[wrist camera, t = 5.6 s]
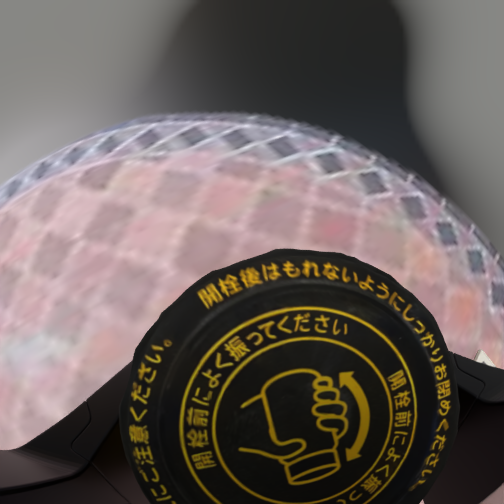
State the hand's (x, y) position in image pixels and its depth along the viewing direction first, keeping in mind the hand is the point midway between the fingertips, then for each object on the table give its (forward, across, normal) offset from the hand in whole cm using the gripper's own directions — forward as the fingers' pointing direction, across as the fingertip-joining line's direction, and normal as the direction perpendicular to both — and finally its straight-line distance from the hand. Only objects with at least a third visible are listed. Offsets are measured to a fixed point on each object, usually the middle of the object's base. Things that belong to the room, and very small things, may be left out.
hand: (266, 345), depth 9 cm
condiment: (+4, -1, +6) cm, 7 cm away
